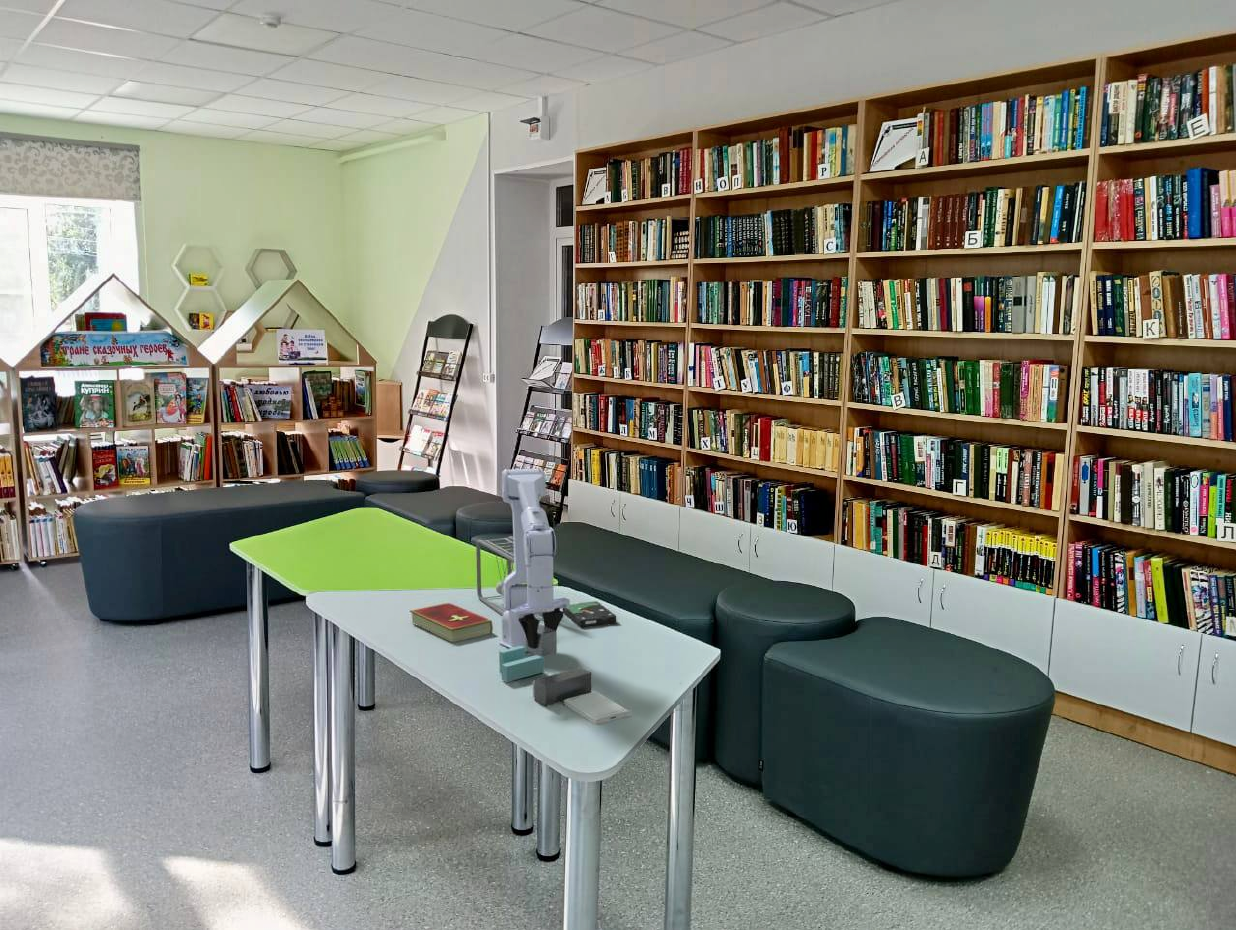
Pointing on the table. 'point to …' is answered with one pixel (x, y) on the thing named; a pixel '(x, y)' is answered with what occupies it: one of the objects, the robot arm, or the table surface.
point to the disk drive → (589, 614)
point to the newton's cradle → (508, 559)
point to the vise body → (562, 686)
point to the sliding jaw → (519, 664)
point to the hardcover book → (451, 622)
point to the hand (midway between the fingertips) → (540, 645)
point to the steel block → (544, 642)
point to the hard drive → (596, 707)
